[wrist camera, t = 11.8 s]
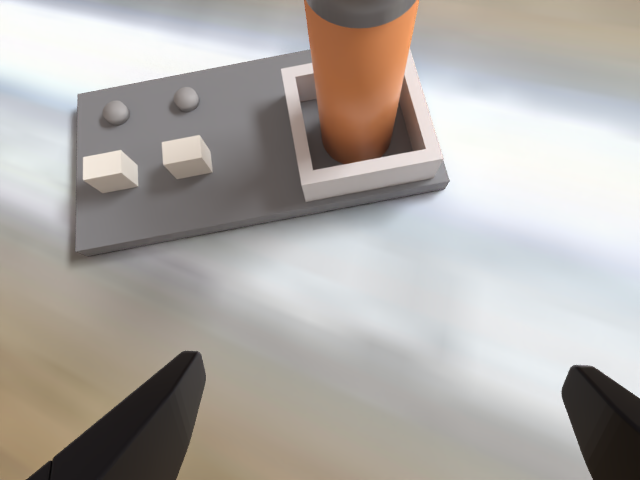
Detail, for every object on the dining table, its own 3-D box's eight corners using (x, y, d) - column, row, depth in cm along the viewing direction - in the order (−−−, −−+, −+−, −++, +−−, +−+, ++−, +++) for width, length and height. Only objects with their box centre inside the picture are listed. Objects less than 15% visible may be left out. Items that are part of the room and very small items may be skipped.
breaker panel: (87, 256, 25) (45, 240, 22) (88, 104, 29) (52, 69, 25) (444, 188, 25) (461, 161, 21) (401, 44, 29) (409, 0, 25)
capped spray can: (347, 179, 24) (346, 0, 12) (308, 128, 26) (270, -82, 13) (405, 141, 25) (463, -69, 12) (364, 92, 26) (378, -143, 14)
